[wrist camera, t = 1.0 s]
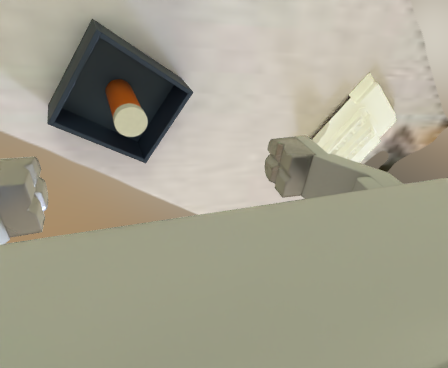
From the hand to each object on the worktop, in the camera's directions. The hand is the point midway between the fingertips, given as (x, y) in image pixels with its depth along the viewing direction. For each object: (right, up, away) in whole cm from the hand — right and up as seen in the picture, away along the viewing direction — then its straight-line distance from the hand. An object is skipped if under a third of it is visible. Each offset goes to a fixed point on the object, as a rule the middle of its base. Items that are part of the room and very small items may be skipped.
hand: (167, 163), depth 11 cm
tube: (-13, +13, +33) cm, 38 cm away
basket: (-14, +13, +34) cm, 38 cm away
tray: (+30, +9, +62) cm, 69 cm away
